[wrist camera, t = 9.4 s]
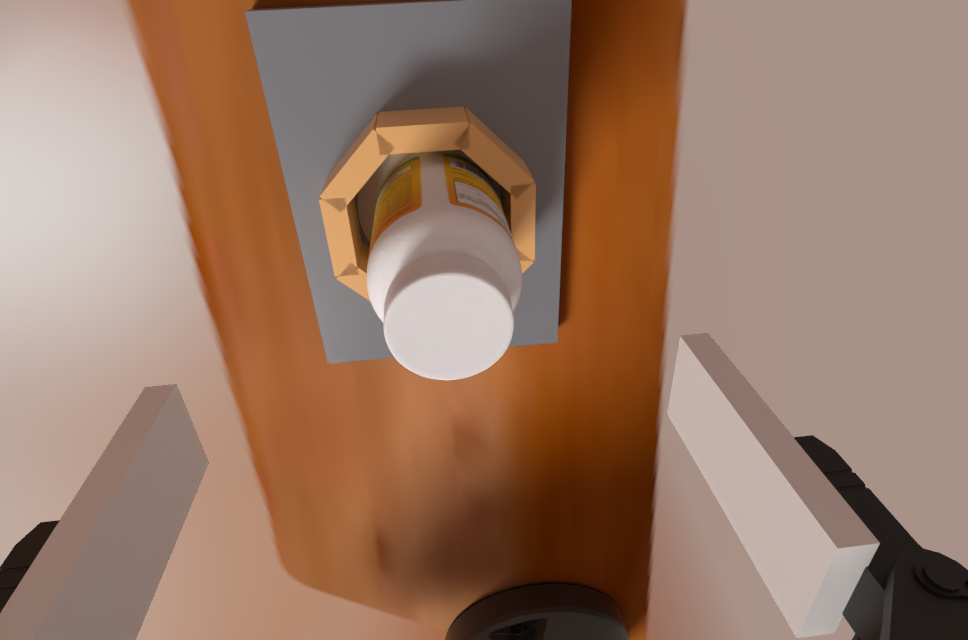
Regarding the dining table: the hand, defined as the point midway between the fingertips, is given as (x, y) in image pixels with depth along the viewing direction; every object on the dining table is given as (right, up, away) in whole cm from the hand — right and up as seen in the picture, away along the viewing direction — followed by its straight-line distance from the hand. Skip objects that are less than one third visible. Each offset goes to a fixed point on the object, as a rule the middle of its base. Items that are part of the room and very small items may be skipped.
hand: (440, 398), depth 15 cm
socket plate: (-1, +8, +11) cm, 13 cm away
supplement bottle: (-1, +7, +10) cm, 12 cm away
